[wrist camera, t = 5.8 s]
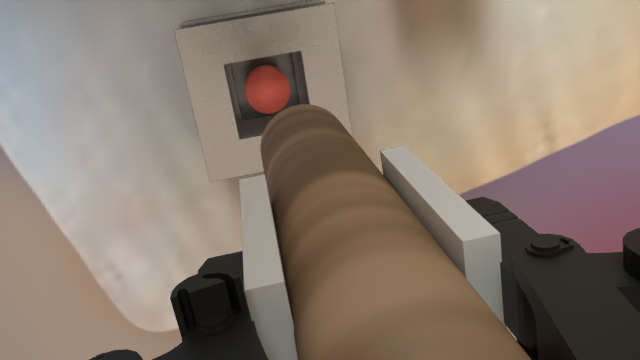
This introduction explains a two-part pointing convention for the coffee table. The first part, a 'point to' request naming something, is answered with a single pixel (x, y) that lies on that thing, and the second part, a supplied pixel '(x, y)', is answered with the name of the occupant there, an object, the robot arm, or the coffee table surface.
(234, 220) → the coffee table surface
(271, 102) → the breaker button
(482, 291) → the robot arm
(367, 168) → the brown wooden rod
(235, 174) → the grey button box
